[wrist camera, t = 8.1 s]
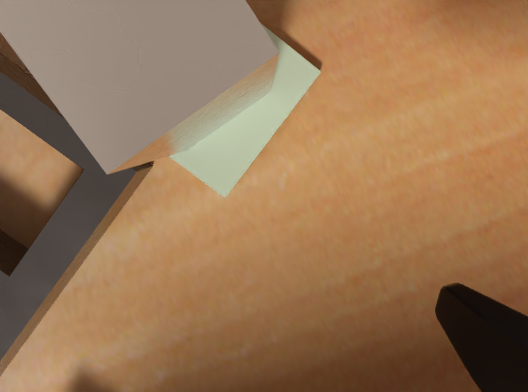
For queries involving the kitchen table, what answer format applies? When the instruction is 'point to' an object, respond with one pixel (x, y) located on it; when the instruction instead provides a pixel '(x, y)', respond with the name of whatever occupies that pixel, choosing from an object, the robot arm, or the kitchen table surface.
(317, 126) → the kitchen table surface
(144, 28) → the grey tall rectangular block
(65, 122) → the dark grey flat frame
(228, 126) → the green mat
